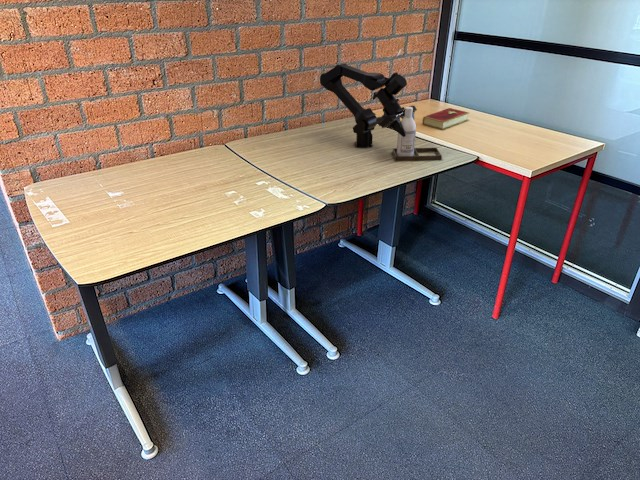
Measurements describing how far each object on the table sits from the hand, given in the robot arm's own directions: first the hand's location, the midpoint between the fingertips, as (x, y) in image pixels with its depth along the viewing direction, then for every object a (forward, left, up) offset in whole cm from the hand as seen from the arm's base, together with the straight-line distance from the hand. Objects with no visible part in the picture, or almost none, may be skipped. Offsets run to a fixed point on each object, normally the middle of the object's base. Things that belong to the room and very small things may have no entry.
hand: (409, 134), depth 196 cm
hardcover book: (+26, +45, -10) cm, 53 cm away
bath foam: (-1, +1, -10) cm, 10 cm away
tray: (+4, +1, -10) cm, 10 cm away
